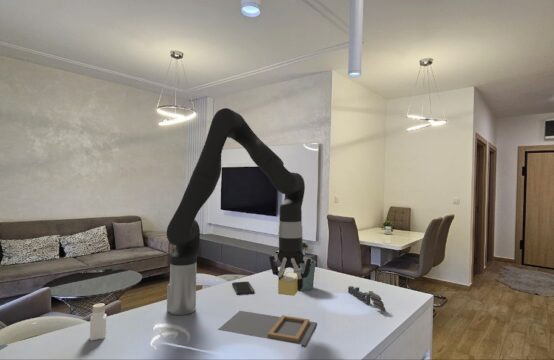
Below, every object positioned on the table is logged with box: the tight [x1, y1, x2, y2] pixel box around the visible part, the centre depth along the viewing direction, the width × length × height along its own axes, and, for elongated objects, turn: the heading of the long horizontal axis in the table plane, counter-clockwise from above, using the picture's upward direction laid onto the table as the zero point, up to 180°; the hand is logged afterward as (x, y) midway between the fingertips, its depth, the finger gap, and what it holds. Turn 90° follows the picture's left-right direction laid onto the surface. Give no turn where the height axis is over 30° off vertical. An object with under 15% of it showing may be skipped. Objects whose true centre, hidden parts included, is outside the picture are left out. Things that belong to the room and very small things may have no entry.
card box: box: [277, 272, 299, 297], centre depth 101 cm, size 10×5×4 cm, turn 161°
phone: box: [231, 281, 256, 296], centre depth 141 cm, size 8×1×15 cm
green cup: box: [292, 259, 317, 292], centre depth 144 cm, size 10×10×12 cm
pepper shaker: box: [89, 302, 108, 341], centre depth 95 cm, size 4×4×10 cm
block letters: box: [347, 285, 387, 313], centre depth 126 cm, size 25×2×6 cm, turn 16°
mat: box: [217, 310, 317, 348], centre depth 103 cm, size 28×16×2 cm, turn 71°
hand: (290, 289), depth 101 cm, fingers closed on card box, 5 cm apart
